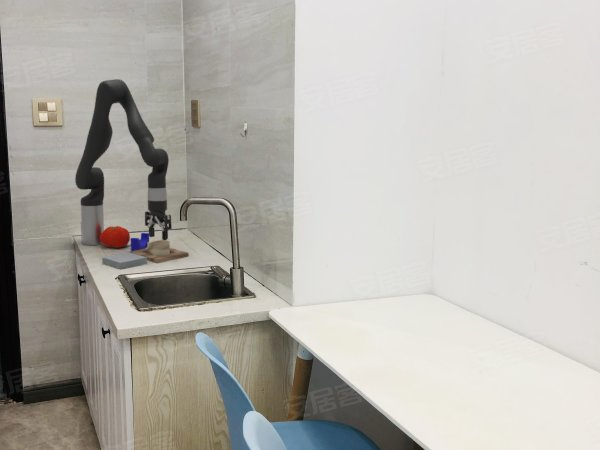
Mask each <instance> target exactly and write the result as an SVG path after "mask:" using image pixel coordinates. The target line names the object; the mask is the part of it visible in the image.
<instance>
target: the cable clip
mask: <svg viewBox="0 0 600 450" xmlns="http://www.w3.org/2000/svg"><path fill="white" fill-rule="evenodd" d="M147 242H150V237H149V232H141V233H140V238H139V237H130V251H135V250H140V249H146V248H148V245H147Z"/></svg>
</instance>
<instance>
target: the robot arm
mask: <svg viewBox="0 0 600 450" xmlns="http://www.w3.org/2000/svg"><path fill="white" fill-rule="evenodd" d="M95 94H96V95H95V101H94V109H93V114H92V118H91V123H90V127H89V130H88V133H87V137H86V143H85V146H84V149H83V153H82V156H81V159H80V161H79V164H78V166H77V169H76V173H75V179H74V180H75V181H74V183H75V185H76V187H77V188H78V189H79V190H84V191H85V190H86V191H87V190H90V191H89V193H88V194H87V195H85V196H83V197H81V199H80V213H81V214H80V216H81V217H80V219H81V221H80V233H81V237H80V238H81V244H82V245H84V246H85V245H86V246H97V245H98V246H99V244H100V245H102V244H103V243H102V242H101V241H100V236H101V233H102V232H103V231H104V230H105V222H104V221H105V220H104V219H105V218H104V217H105V216H104V198H105V175H104V172H103V170H102V169H101V168H100V167H94V165H95V163H96V162H97V161H98V160H99V159H100V158H101V157H102V156H103V155H104V154H105V153H106V152H107V151H108V149H109V147H110V145H111V141H112V138H113V131H114V130H113V127H112V124H111V121H110V112H111V109H112V106H113V105H114V104H119V105H121V107H122V108H123V110H124V112H125V114H126V122H127V128H128V132H129V134H130V135H131V138H132V139H133V140H134V142H135V143H136V145H137V148H138V149H139V153H140V155H141V159H142V161H143V162H144V163H145V164H146V165H147V166H148V167H150V168H152V169H151V172H150V173H149V174H148V175H147V209H148V211H145V212H144V226H146V227H147V228H148V233H149V238H153V237H155V231H156V230H155V226H156V225H158V227H160V228H161V238H162V239H161V240H167V241H168V240H169V230H172V215H171V214H166V211H167V210H168V198H167V197H168V193H167V182H166V181H167V179H166V175H167V172H168V169H169V162H170V161H169V155H168V151H166V150H165V149H163V148H160V147H159V148H155V145H154V144H153V143H154V142H155V138H154V136H153V134H152V133H151V130H150V129H149V127H148V126H147V124H146V123H145V121H144V120H143V118H142V116H141V113H140V112H139V109H138V106H137V104H136V102H135V99H134V98H133V96H132V92H131V91H130V89H129V87H128V85H127V84H126V82H125V81H124V80H122V79H118V78H115V79H110V80H109V79H108V80H103V81H101V82H99V84H98V86H97V90H96V93H95ZM103 245H104V244H103Z"/></svg>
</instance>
